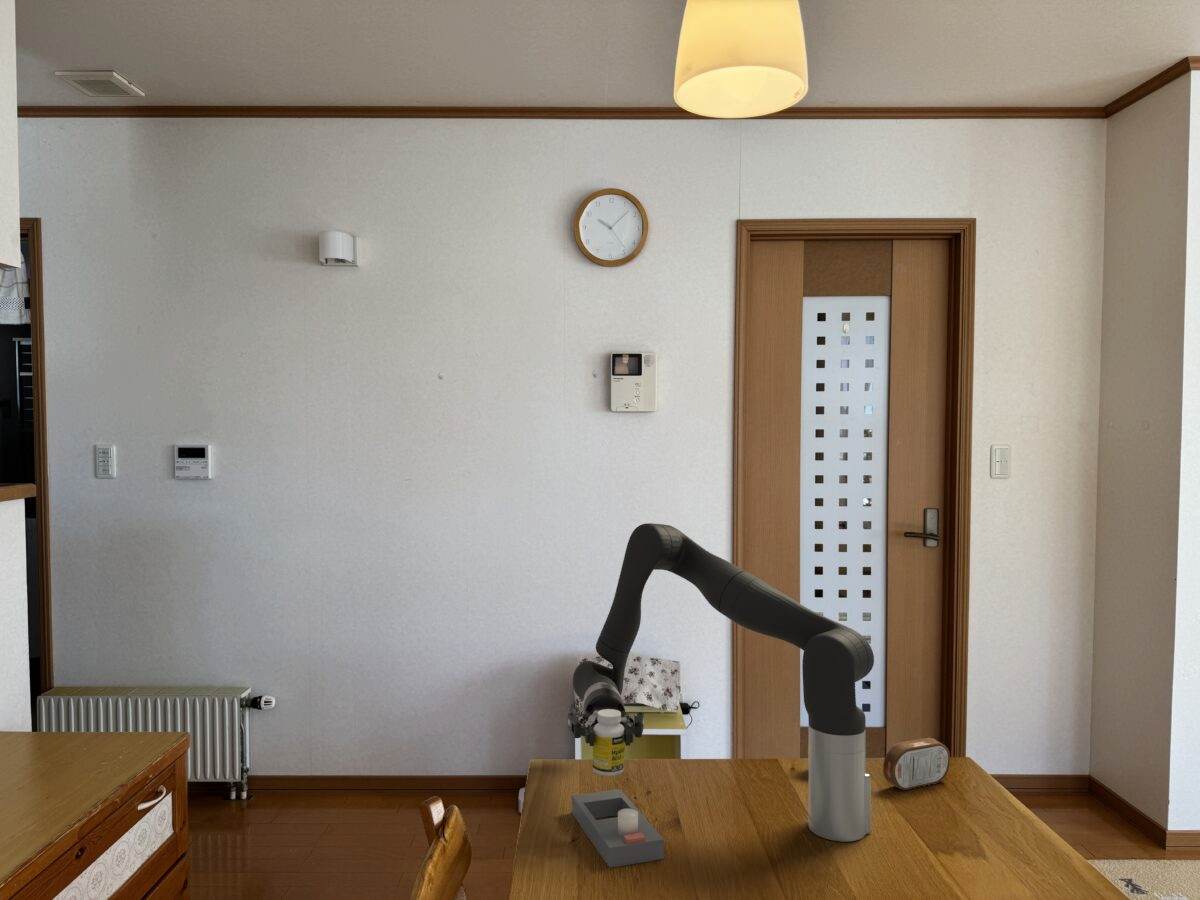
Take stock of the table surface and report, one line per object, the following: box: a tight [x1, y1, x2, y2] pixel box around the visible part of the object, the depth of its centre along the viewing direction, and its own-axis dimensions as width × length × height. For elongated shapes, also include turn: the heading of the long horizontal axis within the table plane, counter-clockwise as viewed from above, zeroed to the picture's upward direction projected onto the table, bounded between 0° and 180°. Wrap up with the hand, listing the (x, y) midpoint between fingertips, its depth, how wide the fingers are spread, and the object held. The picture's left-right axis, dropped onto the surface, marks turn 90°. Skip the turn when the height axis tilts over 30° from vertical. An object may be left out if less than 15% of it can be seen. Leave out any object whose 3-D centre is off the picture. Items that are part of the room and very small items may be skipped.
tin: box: [882, 737, 951, 791], centre depth 152 cm, size 15×3×8 cm, turn 114°
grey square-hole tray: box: [571, 788, 665, 869], centre depth 132 cm, size 9×20×6 cm, turn 19°
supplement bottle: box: [592, 709, 626, 777], centre depth 135 cm, size 5×5×10 cm
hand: (610, 740), depth 132 cm, fingers closed on supplement bottle, 5 cm apart
